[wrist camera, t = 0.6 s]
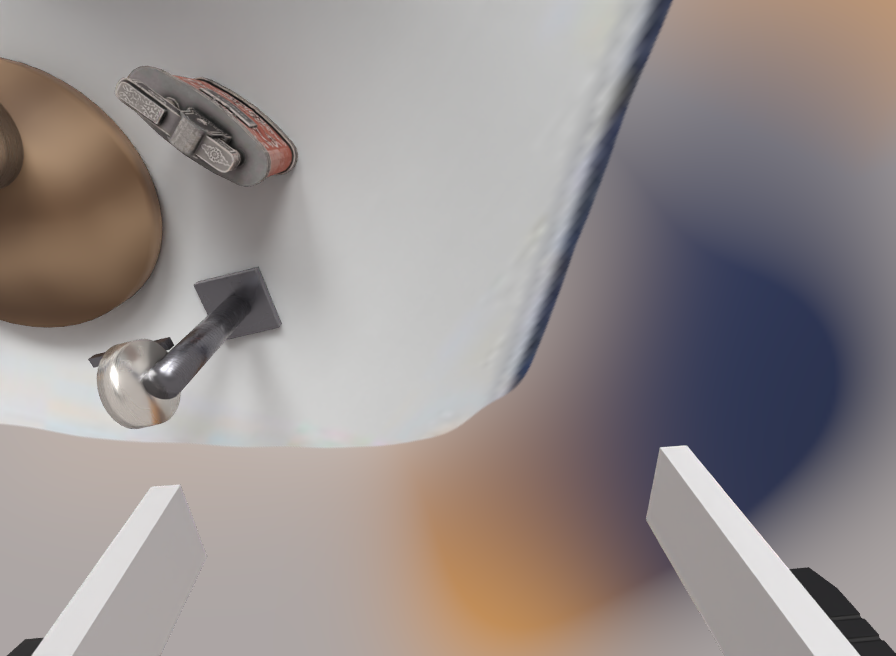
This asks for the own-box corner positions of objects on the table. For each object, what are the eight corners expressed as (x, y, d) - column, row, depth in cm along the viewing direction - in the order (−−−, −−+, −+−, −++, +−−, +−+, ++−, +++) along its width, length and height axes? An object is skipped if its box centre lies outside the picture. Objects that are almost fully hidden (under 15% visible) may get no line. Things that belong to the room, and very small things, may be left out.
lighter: (307, 146, 33) (266, 155, 24) (282, 185, 34) (233, 207, 25) (202, 65, 31) (112, 40, 22) (178, 108, 32) (82, 102, 22)
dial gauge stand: (155, 291, 37) (9, 386, 23) (258, 267, 36) (168, 349, 23) (184, 346, 39) (64, 462, 25) (281, 323, 38) (211, 428, 25)
